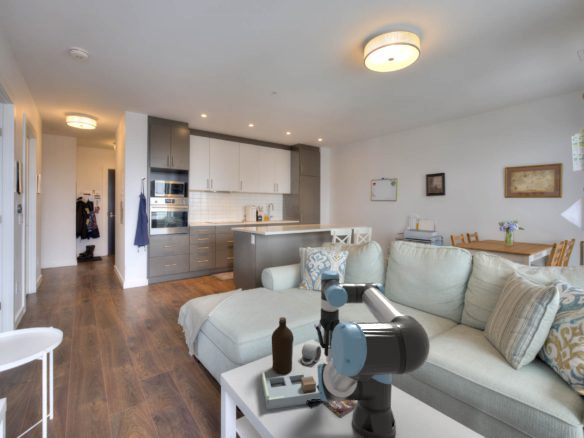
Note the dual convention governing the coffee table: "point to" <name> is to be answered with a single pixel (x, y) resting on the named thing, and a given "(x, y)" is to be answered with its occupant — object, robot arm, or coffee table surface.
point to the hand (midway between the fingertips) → (328, 362)
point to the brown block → (308, 384)
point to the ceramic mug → (311, 353)
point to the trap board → (286, 391)
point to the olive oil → (282, 348)
